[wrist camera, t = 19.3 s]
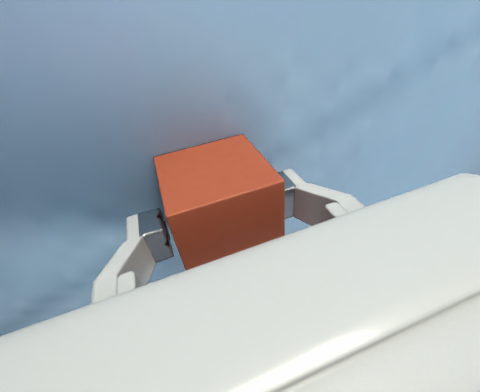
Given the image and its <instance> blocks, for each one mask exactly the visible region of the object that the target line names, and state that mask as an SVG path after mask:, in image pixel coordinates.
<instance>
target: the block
mask: <svg viewBox="0 0 480 392" xmlns="http://www.w3.org/2000/svg"><path fill="white" fill-rule="evenodd" d="M154 164H155V169H156V173H157V178H158V183H159V188H160V193H161V198H162V203H163V207H164V212H165V217H166V220H167V222H168V225H169V228H170V230H171V233H172V236H173V238H174V241H175V243H176V246H177V249H178V251H179V254H180V256H181V259H182V262H183V264H184V267H185V270H189V269H191V268H194V267H197V266H200V265H203V264H205V263H208V262H211V261H214V260H217V259H220V258H222V257H225V256H228V255H231V254H234V253H237V252H239V251H242V250H245V249H248V248H251V247H253V246H256V245H259V244H262V243H265V242H267V241H270V240H273V239H276V238H279V237H282V236H284V217H285V181H284V179H283V178H282V177H281V176H280V175H279V174H278V173H277V171H276V170H275V169H274V168H273V167H272V166H271V165H270V164H269V162H268V161H267V160H266V159H265V158H264V157H263V156H262V155H261V154H260V152H259V151H258V150H257V149H256V148H255V147H254V146H253V145H252V143H251V142H250V141H249V140H248V139H247V138H246V137H245V136H244V135H243V134H241V135H237V136H233V137H230V138H226V139H222V140H218V141H214V142H210V143H206V144H203V145H199V146H195V147H191V148H187V149H183V150H179V151H175V152H172V153H168V154H164V155H160V156H156V157H154Z"/></svg>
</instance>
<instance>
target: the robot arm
mask: <svg viewBox="0 0 480 392" xmlns="http://www.w3.org/2000/svg"><path fill="white" fill-rule="evenodd" d="M278 174H279V175H280V176H281V177H282V178H283V179H284V181H285V217H284V219H286V218H289V217H293V216H294V217H295V218H297V219H299V220H301V221H303V222H305V223H307V224H309V225H311V226H310V227H307V228H304V229H301V230H299V231H296V232H293V233H290V234H287V235H284V236H282V237H279V238H276V239H273V240H270V241H267V242H265V243H262V244H259V245H256V246H253V247H251V248H248V249H245V250H242V251H239V252H237V253H234V254H231V255H228V256H225V257H222V258H220V259H217V260H214V261H211V262H208V263H205V264H203V265H200V266H197V267H194V268H191V269H189V270H186V271H183V272H180V273H177V274H174V275H172V276H169V277H166V278H163V279H160V280H157V281H155V282H152V283H149V284H147V283H148V281H149V279H150V277H151V275H152V272H153V270H154V268H155V266H156V263H157V262H160V261H163V260H165V259H168V258H171V257H174V254H173V249H172V245H171V243H170V235H169V232H168V228H167V225H166V223H165V221H164V220H163V215H162V212H161V210H160V208H157V209H153V210H150V211H146V212H142V213H139V214H135V215H132V216H129V217H127V218H126V234H127V241H125V242H123V243H122V245H121V246H120V247H119V249H118V250H117V251H116V253H115V254H114V255H113V257H112V258H111V259H110V261H109V262H108V263H107V265H106V266H105V267H104V269H103V270H102V271H101V273H100V274H99V275H98V277H97V278H96V279H95V281H94V282H93V286H92V296H91V304H90V305H87V306H84V307H81V308H78V309H75V310H73V311H70V312H67V313H64V314H61V315H58V316H56V317H53V318H50V319H47V320H44V321H42V322H39V323H36V324H33V325H30V326H27V327H25V328H22V329H19V330H16V331H13V332H10V333H8V334H5V335H2V336H0V392H480V175H475V174H467V173H462V174H457V175H454V176H451V177H448V178H445V179H442V180H440V181H437V182H434V183H431V184H428V185H426V186H423V187H420V188H417V189H414V190H411V191H409V192H406V193H403V194H400V195H397V196H395V197H392V198H389V199H386V200H383V201H380V202H378V203H375V204H372V205H369V206H366V207H365V206H364V205H363V204H362V203H361V202H359V201H358V200H357V199H356V198H355V197H354V196H352V195H349V194H346V193H342V192H339V191H335V190H332V189H328V188H325V187H321V186H318V185H314V184H310V183H308V184H306V183H305V182H304V181H303V180H302V179H301V178H300V177H299V176H298V175H297V174H296V173H295V172H294V171H293V170H292V169H290V168H289V169H286V170H283V171H281V172H278Z"/></svg>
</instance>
